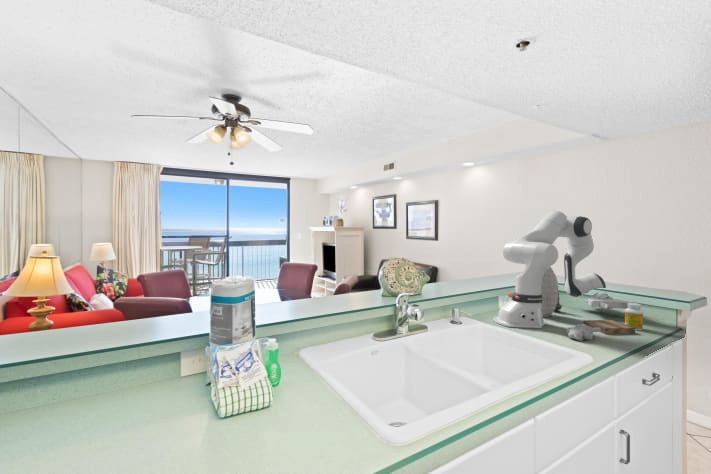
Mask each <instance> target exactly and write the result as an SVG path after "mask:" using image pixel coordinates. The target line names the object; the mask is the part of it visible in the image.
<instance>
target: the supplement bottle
mask: <svg viewBox="0 0 711 474" xmlns="http://www.w3.org/2000/svg"><path fill="white" fill-rule="evenodd" d="M624 324H626V325H629V326H632V327H635V331H643V329H644V327H643V326H644V311H643V310H642V304H640V303H637V302H636V303H628V308H627V309H624Z"/></svg>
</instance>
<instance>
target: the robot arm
mask: <svg viewBox="0 0 711 474" xmlns="http://www.w3.org/2000/svg"><path fill="white" fill-rule="evenodd" d="M592 227H593V225H592V221H591V220H590V219H589V218H588V217H585V216H580V215H579V216H573V215H571V216H570V215H569V216H568V215H566V214H565V213H563V211H559V210H553V211H550V212H549V213H547V214H546V215H544V217H542V218H541V219H540V221H539V222H538V223H537V224H536V225H535V226H534V227H533V228H532V229H531V230H530V231H529V232H527V233H526V234H525V235H523V236H521V237H519V238H518V239H515V240H512V241H508V242H506V244H505V245H504V246H503V248H502V255H503V258H504V259H505V260H506V261H508V262H511V263H514V264H519V265H520V264H521V265H526V266H525V269H524V271H522V272H520V273H518V274H517V275H516V276H515V288H514V290H515V292H514V293H512V292H508V293H507V297H509V298H511V299H510V300H509V301H508V302H507V303H505V304H503V305H502V306H501V307H500V308H499V311H498V315H497V316H494V317H493V321H494V323H496V324H499V325H501V326H504V327H506V328H507V327H508V328H524V329H525V328H526V329H527V328H528V329H529V328H530V329H542V328H543V327H544V326H545V325H546V324H545V321H544V317H543V315H542V307H541V305H542V294H541V288H542V278H543V275H544V273H545V271H546V270H547V269H548V268H549V267H551V266H553V265H554V264H556V263H557V261H558V259H559V251H558V249H557V247H556V246H555V245H554V243H555V241H556V240H557V239H558V238H559V237H560V238H566V240H567V244H568V248H567V251H566V253H565V254H564V258H563V265H564V266H563V268H564V269H563V270H564V284H563V286H564V290H565V292H566V294H567V295H569V296H571V297H573V298H578V297H580V296H583V294H586V293H588V292H589V291H590V290H592V289H594V288H606V289H607V285H606V281H605V280H604V279H603V278H602V277H601V275H599V274H597V273H595V272H591V273H587V274H584V275H581V276H578V277H576V267H577V265H578V264H579V263H580V262H581V261H583V260H584V259H586V258H588V257H589V256H590V255H591V254H592V253H593V252H594V251H593V250H594V240H593V236H592V234H591V233H592V230H593V229H592ZM607 293H608V292H606V293H596V294H594V295H592V296H591V297H589V298H588V299H586V300H585V299H583V302H585V303H586V304H587V305H588V306H589V307H591V308H598V309H601V310H606V311H607V310H612V309H613V308H614V309H624V310H625V309H627V308H628V303H635V302H636V301H635V302H632V301H625V300H618V299H613V298H612V297H610V296H608V294H607Z"/></svg>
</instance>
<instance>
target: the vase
mask: <svg viewBox="0 0 711 474" xmlns="http://www.w3.org/2000/svg"><path fill="white" fill-rule="evenodd" d="M558 292H559V281H558V279H557V276H556V273H555V271H554V270H553V268H552V267H551V266H550V267H549V268H548V269H547V270H546V271H545V273H544V275H543V278H542V288H541V294H542V305H541V307H542V315H543V318H551V316H552V315H553V313H554V310H555V308H556V305H557V302H558Z"/></svg>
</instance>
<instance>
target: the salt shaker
mask: <svg viewBox="0 0 711 474" xmlns="http://www.w3.org/2000/svg"><path fill="white" fill-rule="evenodd" d="M560 299H561V298H560V292H559V291H558V302H557V305H556V308H555V310H554V312H553V313H555V314H561V313H562V311H561V309H562V308H563V305H562V304H560Z"/></svg>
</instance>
